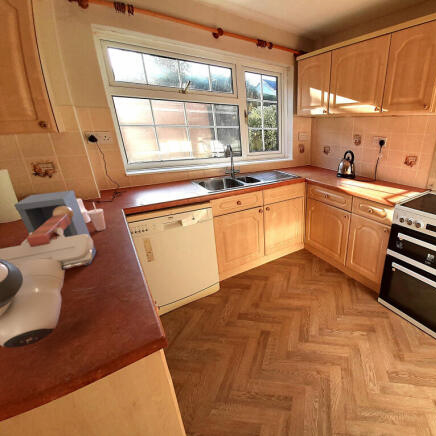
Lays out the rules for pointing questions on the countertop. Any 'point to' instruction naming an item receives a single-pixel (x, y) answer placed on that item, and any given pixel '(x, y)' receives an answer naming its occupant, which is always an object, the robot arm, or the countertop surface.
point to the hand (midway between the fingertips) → (47, 231)
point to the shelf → (43, 210)
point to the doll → (51, 226)
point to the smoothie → (97, 218)
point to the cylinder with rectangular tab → (83, 211)
